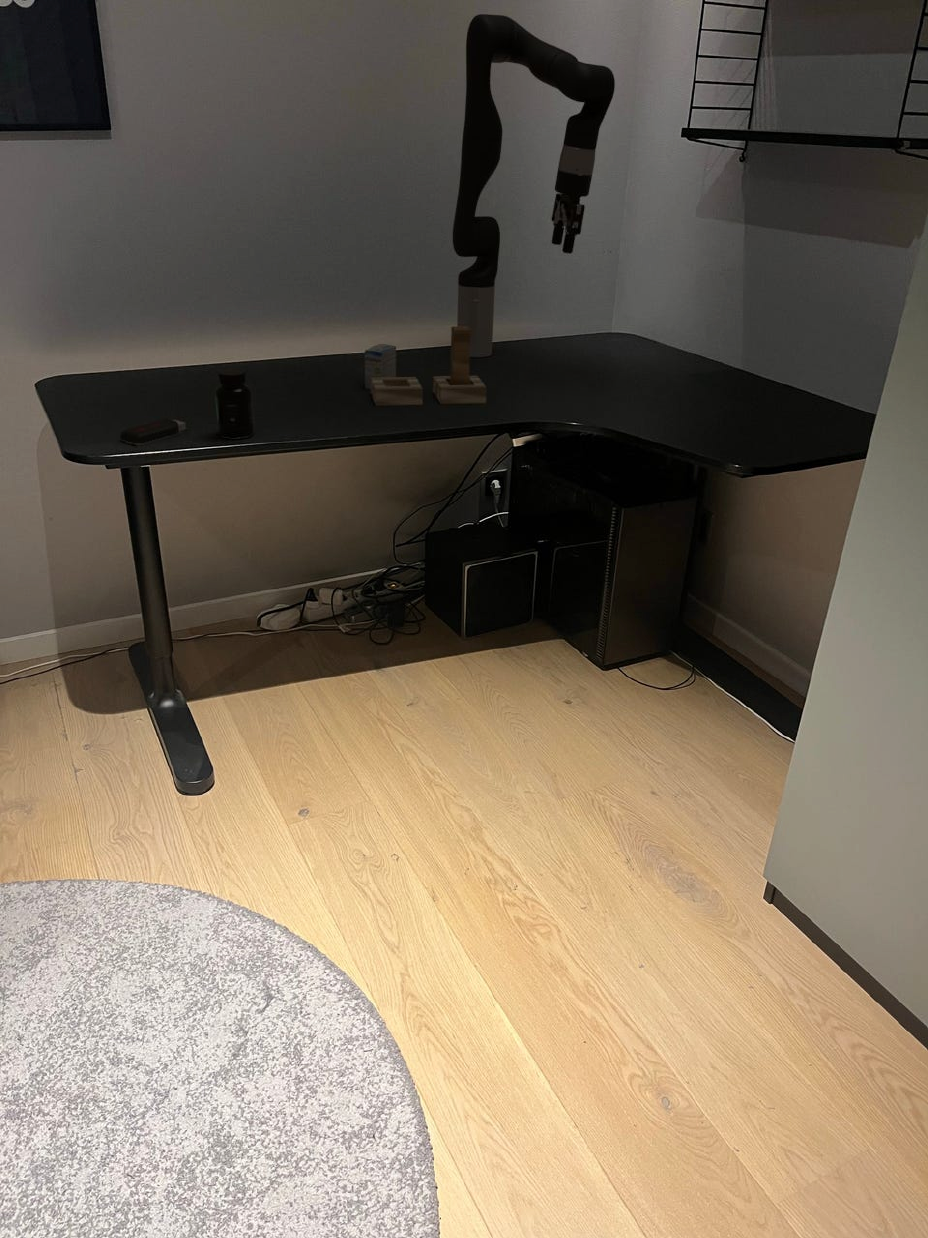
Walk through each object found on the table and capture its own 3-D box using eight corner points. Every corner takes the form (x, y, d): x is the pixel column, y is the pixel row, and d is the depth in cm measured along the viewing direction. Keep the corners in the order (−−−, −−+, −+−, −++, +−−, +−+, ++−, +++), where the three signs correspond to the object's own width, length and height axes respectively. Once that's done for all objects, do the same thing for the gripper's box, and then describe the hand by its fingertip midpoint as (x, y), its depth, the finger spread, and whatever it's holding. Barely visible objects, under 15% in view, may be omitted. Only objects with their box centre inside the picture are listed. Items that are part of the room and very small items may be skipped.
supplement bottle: (213, 438, 185) (207, 375, 179) (226, 428, 191) (220, 366, 185) (247, 441, 184) (243, 377, 179) (259, 430, 190) (255, 369, 185)
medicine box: (379, 380, 227) (378, 343, 223) (396, 383, 226) (396, 345, 221) (364, 388, 220) (364, 350, 216) (382, 391, 219) (382, 352, 215)
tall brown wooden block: (450, 390, 217) (451, 326, 210) (465, 390, 217) (467, 326, 211) (452, 395, 214) (454, 329, 207) (468, 394, 214) (470, 329, 208)
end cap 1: (371, 393, 217) (370, 377, 215) (415, 392, 218) (415, 376, 217) (376, 405, 208) (376, 389, 206) (422, 404, 210) (422, 388, 208)
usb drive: (120, 443, 182) (118, 428, 181) (171, 428, 191) (170, 414, 190) (138, 448, 180) (137, 434, 178) (189, 433, 188) (188, 419, 187)
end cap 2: (433, 391, 219) (433, 376, 218) (476, 390, 221) (477, 375, 219) (440, 404, 211) (441, 388, 209) (486, 402, 212) (486, 386, 211)
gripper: (549, 162, 215) (537, 240, 223) (568, 173, 203) (554, 254, 211) (581, 166, 216) (568, 243, 225) (602, 177, 205) (587, 257, 213)
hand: (561, 248), depth 218 cm, fingers open, 8 cm apart
